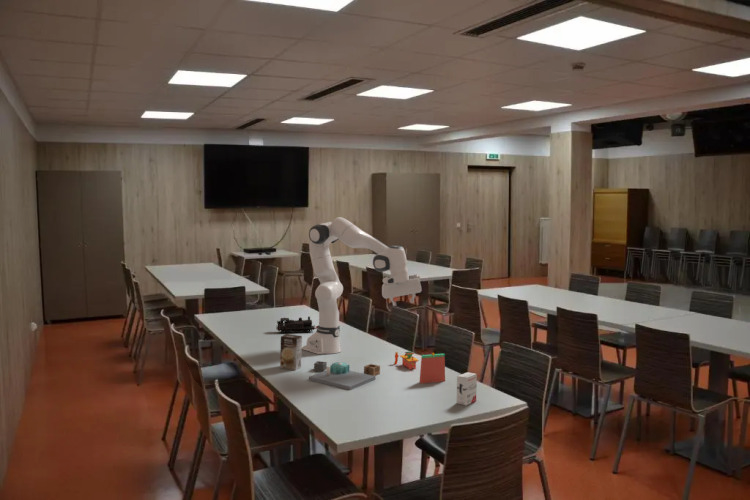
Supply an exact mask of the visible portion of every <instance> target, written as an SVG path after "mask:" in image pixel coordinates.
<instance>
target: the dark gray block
mask: <svg viewBox="0 0 750 500" xmlns="http://www.w3.org/2000/svg"><path fill="white" fill-rule="evenodd" d="M327 363H328V362H327V361H320V360H319V361H318V360H317V361H315V362H314V363H313V371H314V372H320V373H321V372H323V371H326V367H328V366H327Z"/></svg>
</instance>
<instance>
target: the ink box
mask: <svg viewBox="0 0 750 500" xmlns="http://www.w3.org/2000/svg"><path fill="white" fill-rule="evenodd" d="M477 375H478V374H477V373H473V372H464V373H462V374H460V375H457V377H456V404H459V405H463V406H469V405H470V404H472V403H475V402H477V386H478V385H477V383H478V382H477V381H478V380H477V379H478V377H477Z"/></svg>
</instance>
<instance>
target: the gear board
mask: <svg viewBox="0 0 750 500" xmlns="http://www.w3.org/2000/svg"><path fill="white" fill-rule="evenodd" d="M375 380H376V376H372V375H368V374H364V372H359V371H353V370H350V364H348V363H346V362H342V361H340V362H339V361H337V362H333V363H332V364H330V365H329V366H327V367H326V370H325V371H323V372H321V371H320V372H318V373H315V374H313V375H310V376H308V381H312V382H316V383H320V384H324V385H328V386H333V387H336V388H340V389H345V390H348V391H351V390H353V389H355V388H358V387H360V386H363V385H365V384H368V383H370V382H373V381H375Z"/></svg>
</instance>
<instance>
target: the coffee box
mask: <svg viewBox="0 0 750 500" xmlns="http://www.w3.org/2000/svg"><path fill="white" fill-rule="evenodd" d="M302 343H303V336H302V335H298V334H297V335H296V334H291V333H287V334H285V333H284V334H283V335H282V336H280V357H279V359H280V360H279V361H280V362H279V366H280V367H279V369H285V370H292V371H297V370H299V369H300V368H302V352H303V351H302V350H303V349H302V347H303V346H302Z"/></svg>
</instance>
